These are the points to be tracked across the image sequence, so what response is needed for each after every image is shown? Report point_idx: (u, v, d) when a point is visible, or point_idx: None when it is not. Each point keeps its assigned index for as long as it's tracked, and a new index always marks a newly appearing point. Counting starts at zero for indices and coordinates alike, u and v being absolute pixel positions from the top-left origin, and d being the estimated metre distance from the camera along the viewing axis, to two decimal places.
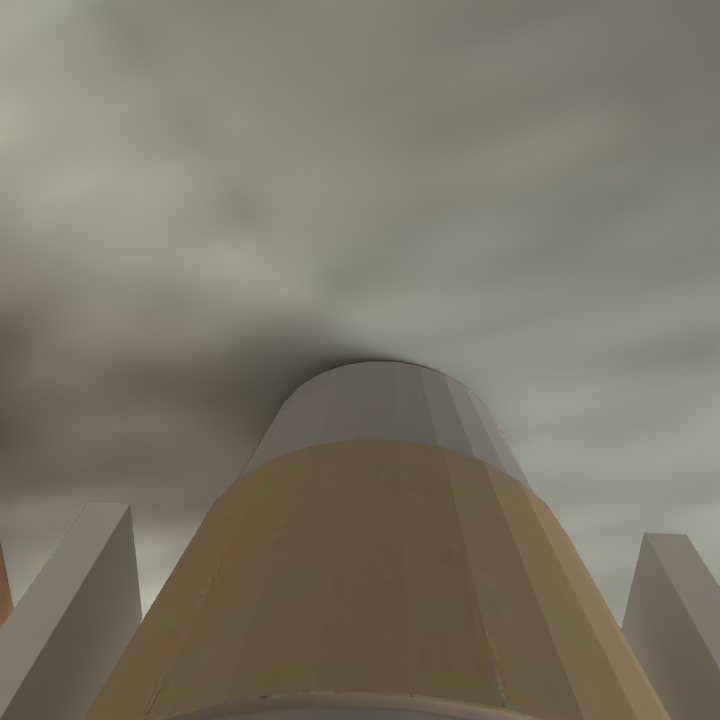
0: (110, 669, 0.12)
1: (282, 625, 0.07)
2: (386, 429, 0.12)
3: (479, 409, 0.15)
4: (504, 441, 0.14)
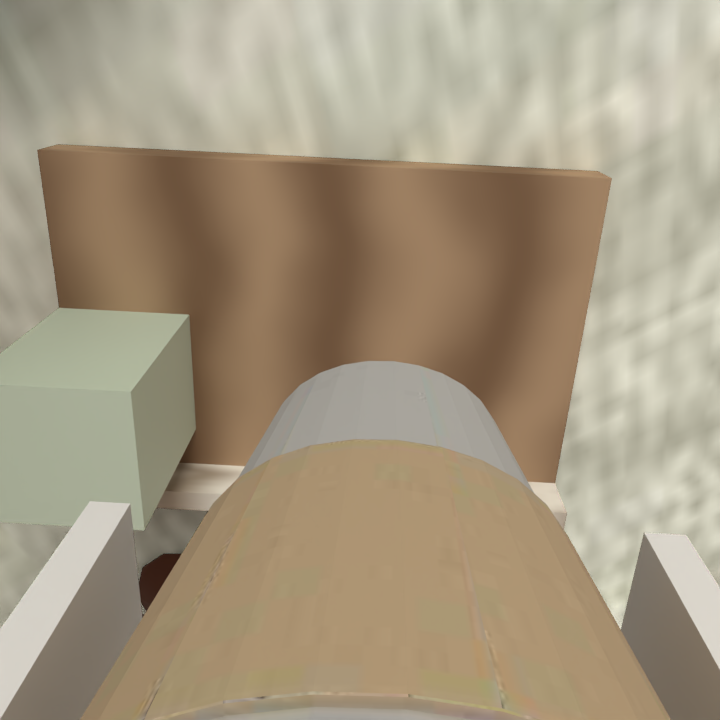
0: (110, 669, 0.12)
1: (280, 625, 0.07)
2: (385, 428, 0.12)
3: (479, 409, 0.15)
4: (504, 441, 0.14)
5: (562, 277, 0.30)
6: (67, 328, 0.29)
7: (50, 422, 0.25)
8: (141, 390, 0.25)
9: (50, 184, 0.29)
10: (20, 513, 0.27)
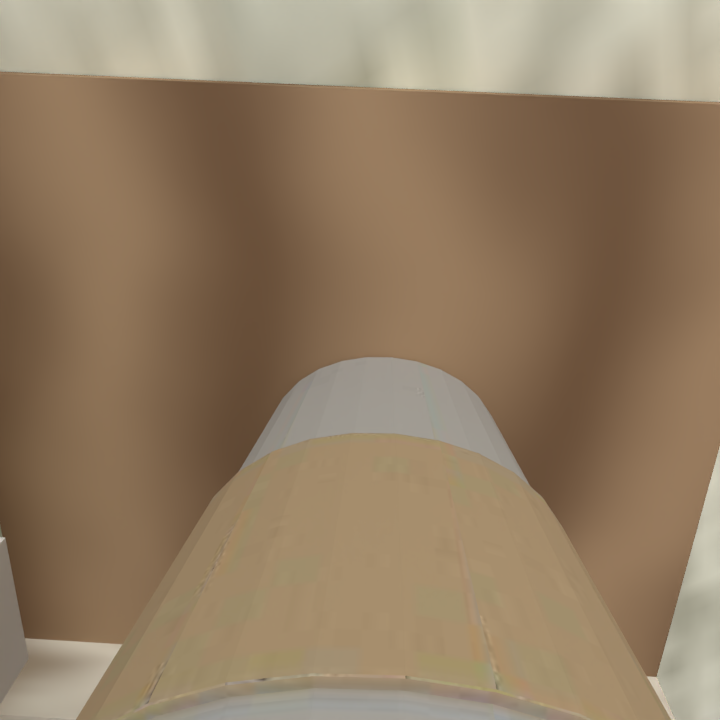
0: None
1: (281, 610, 0.07)
2: (384, 423, 0.12)
3: (476, 404, 0.15)
4: (501, 435, 0.14)
5: (693, 314, 0.15)
6: None
7: None
8: None
9: None
10: None
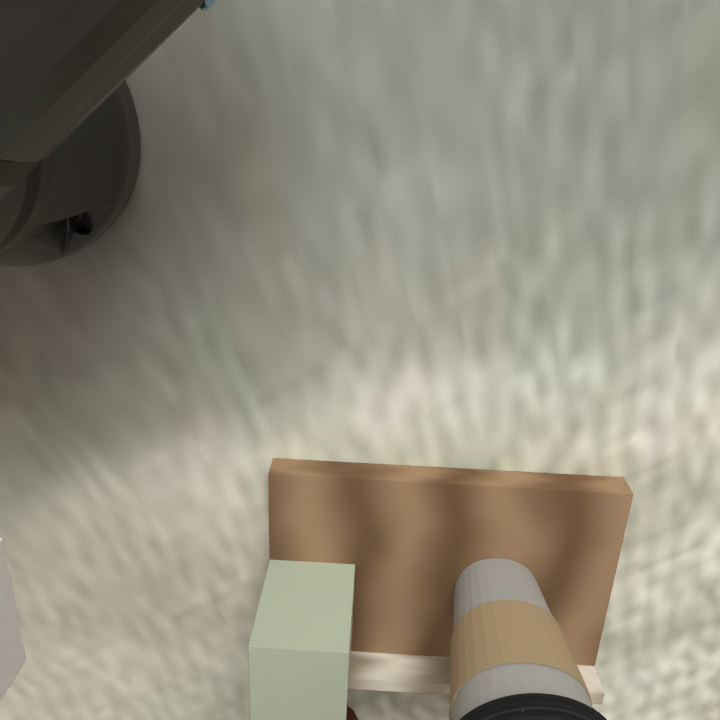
0: None
1: (506, 650, 0.39)
2: (509, 594, 0.44)
3: (530, 577, 0.47)
4: (539, 589, 0.46)
5: (601, 547, 0.47)
6: (285, 584, 0.46)
7: (297, 668, 0.42)
8: (349, 645, 0.42)
9: (274, 492, 0.46)
10: (270, 715, 0.43)
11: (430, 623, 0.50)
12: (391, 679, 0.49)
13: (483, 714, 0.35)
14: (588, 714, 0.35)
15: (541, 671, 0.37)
